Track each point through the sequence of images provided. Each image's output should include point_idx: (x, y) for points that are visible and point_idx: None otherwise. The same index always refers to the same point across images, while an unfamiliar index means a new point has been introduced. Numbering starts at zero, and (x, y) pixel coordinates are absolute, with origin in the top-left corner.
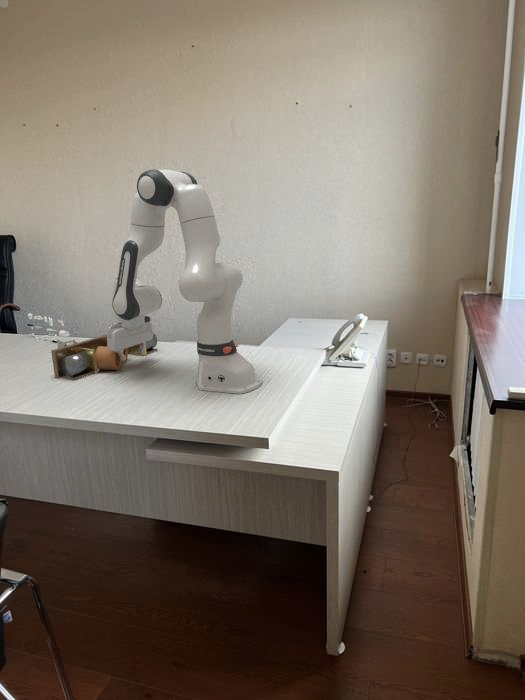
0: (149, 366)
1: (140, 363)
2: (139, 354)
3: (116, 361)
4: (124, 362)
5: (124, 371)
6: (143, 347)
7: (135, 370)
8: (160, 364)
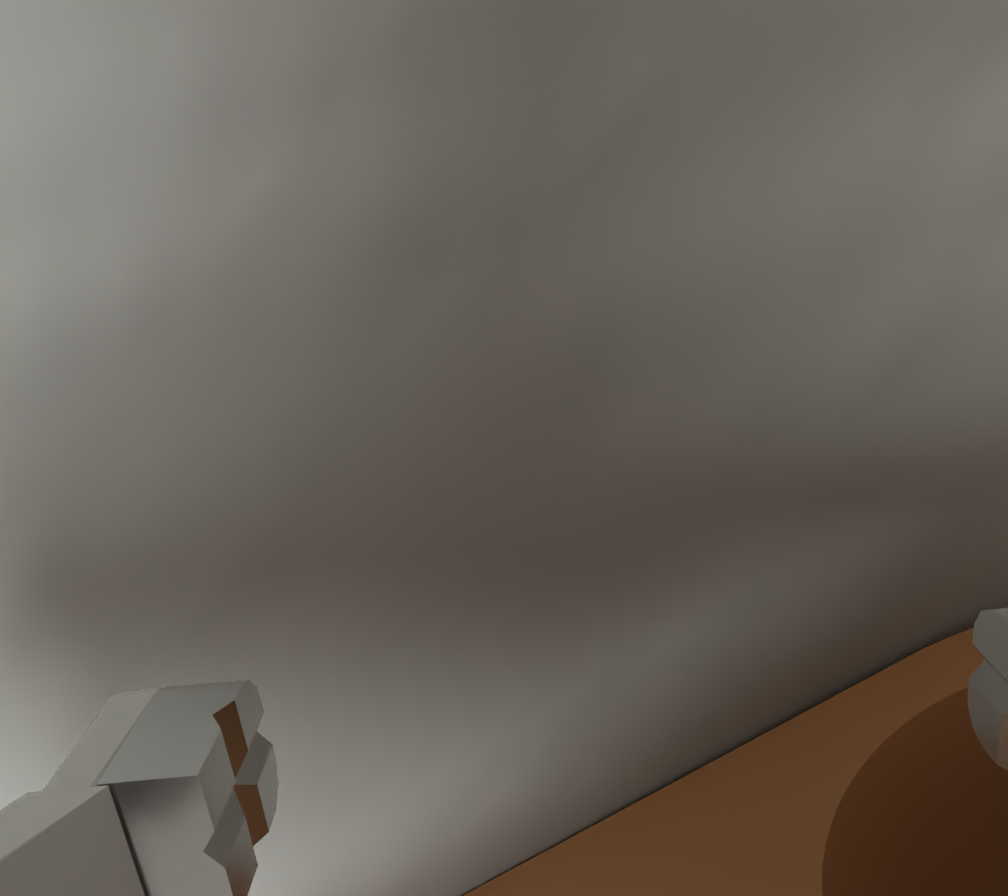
0: (319, 250)
1: (295, 627)
2: (273, 750)
3: (871, 886)
4: (497, 892)
5: (936, 458)
6: (18, 862)
7: (759, 292)
8: (6, 124)
